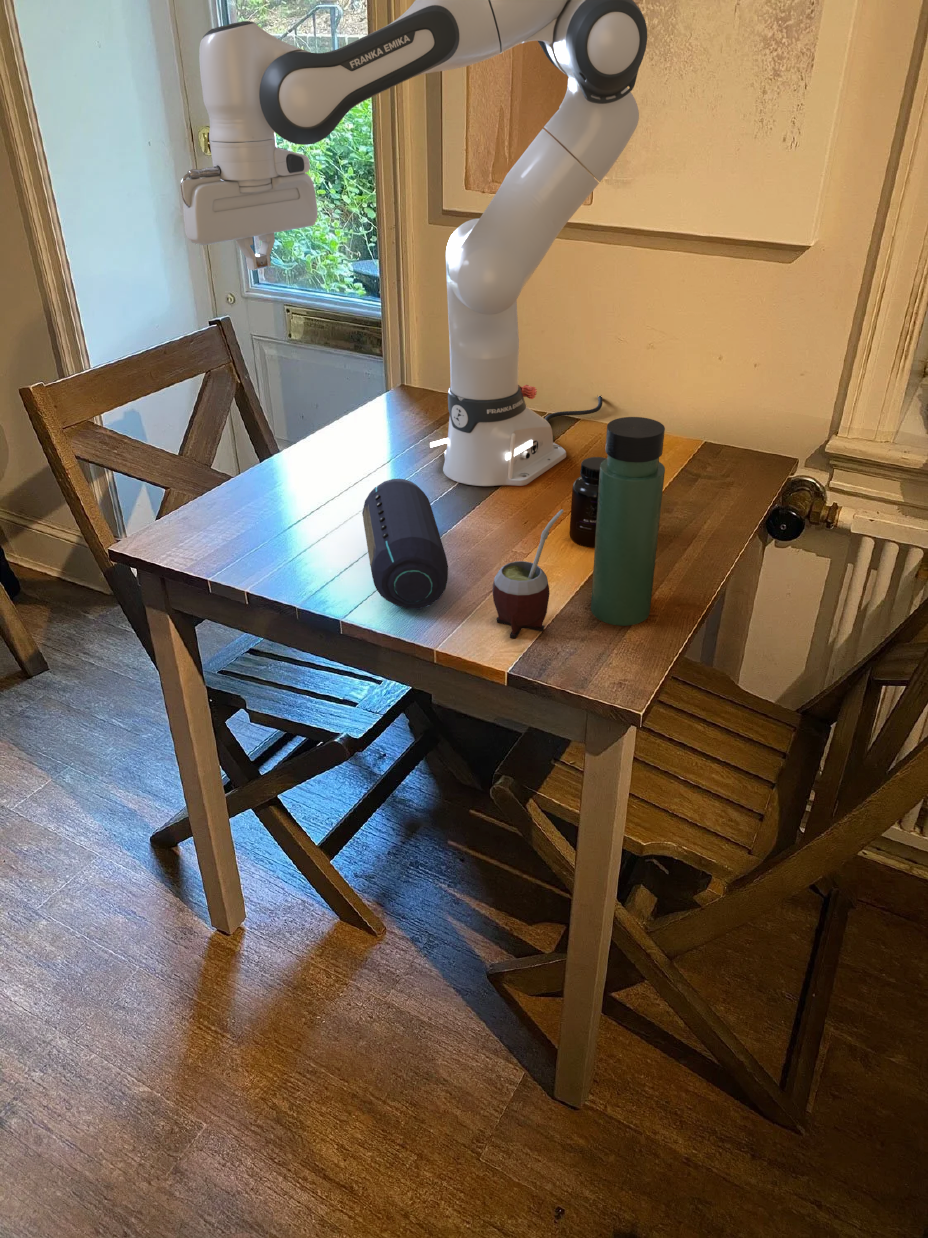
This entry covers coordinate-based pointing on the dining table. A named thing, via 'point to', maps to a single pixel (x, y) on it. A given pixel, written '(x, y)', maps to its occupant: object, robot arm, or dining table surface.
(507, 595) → the mate gourd
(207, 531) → the dining table surface
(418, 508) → the portable speaker
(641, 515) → the thermos
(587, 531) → the supplement bottle
